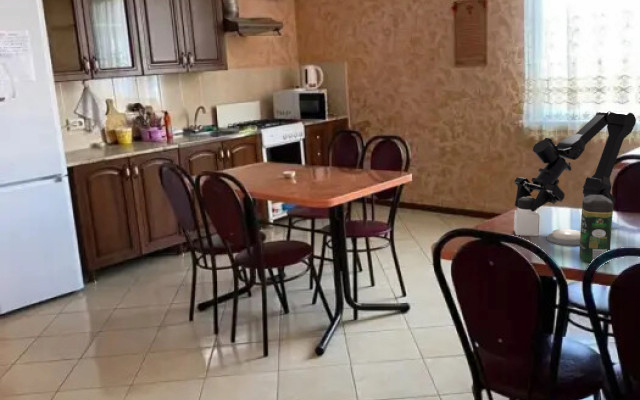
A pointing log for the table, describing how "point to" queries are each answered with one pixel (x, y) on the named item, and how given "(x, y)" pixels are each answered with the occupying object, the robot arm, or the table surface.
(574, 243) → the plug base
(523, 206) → the medicine bottle
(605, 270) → the table surface
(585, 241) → the coffee jar
